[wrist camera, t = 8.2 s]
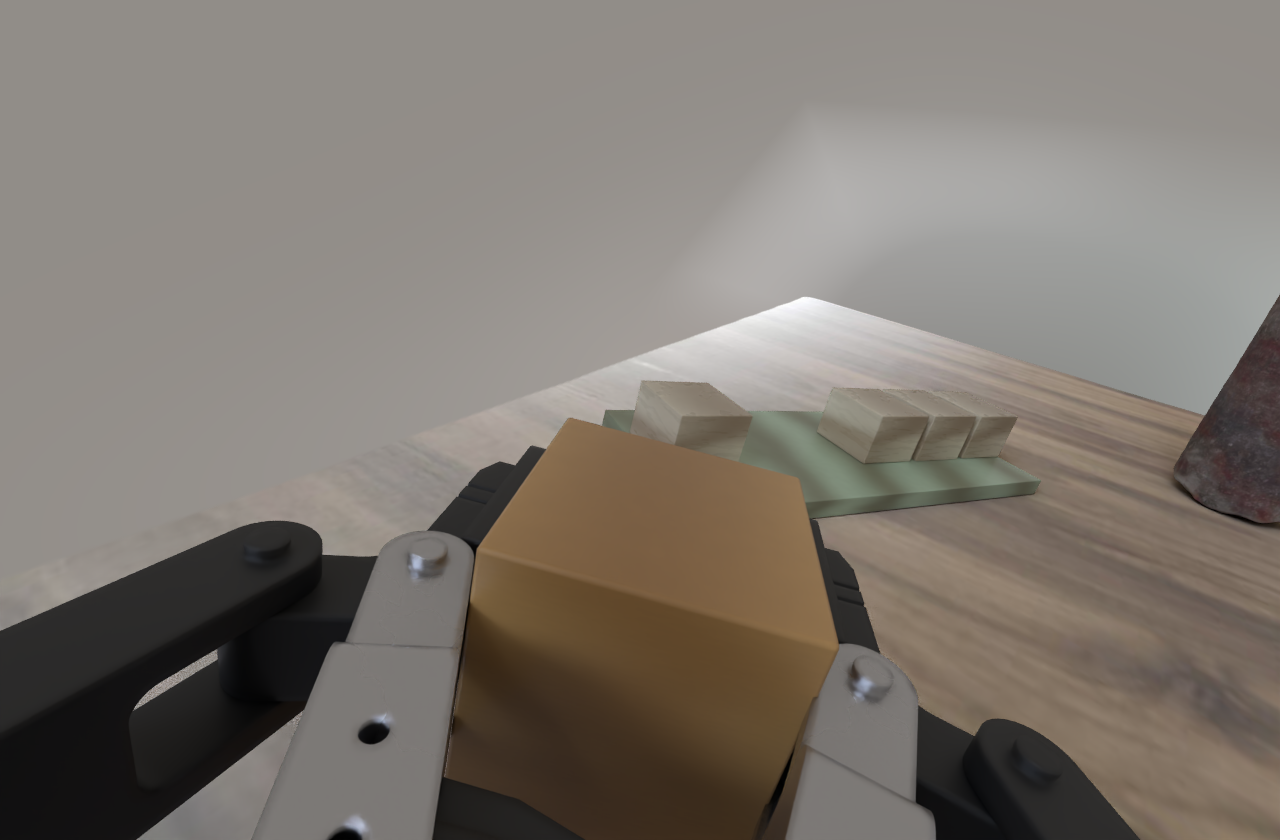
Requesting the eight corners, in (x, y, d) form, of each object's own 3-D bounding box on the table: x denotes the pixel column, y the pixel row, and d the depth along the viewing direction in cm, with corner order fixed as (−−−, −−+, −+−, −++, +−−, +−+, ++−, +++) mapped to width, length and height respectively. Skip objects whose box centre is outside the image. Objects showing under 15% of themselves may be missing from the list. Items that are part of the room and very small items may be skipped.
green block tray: (694, 531, 25) (719, 448, 24) (601, 426, 33) (616, 358, 32) (1034, 494, 38) (1064, 437, 37) (909, 424, 46) (930, 375, 44)
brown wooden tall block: (416, 969, 10) (474, 546, 7) (504, 750, 15) (568, 415, 11) (661, 1044, 10) (842, 648, 7) (680, 802, 14) (800, 476, 11)
